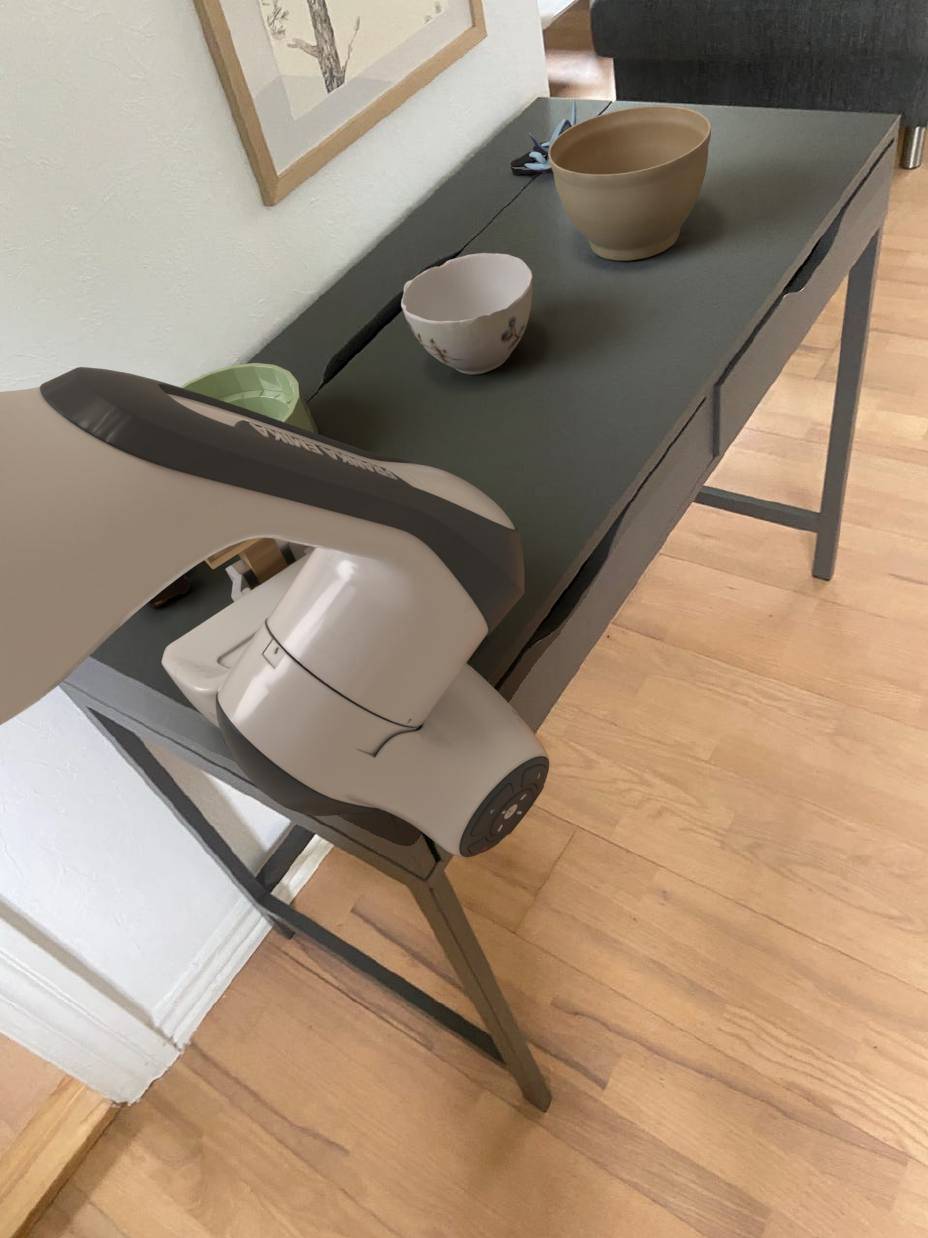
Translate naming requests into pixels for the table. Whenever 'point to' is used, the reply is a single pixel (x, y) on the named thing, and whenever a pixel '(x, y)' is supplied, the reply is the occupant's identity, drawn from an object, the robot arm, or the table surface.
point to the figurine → (542, 150)
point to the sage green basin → (258, 392)
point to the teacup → (470, 310)
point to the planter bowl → (632, 177)
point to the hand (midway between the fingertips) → (258, 555)
